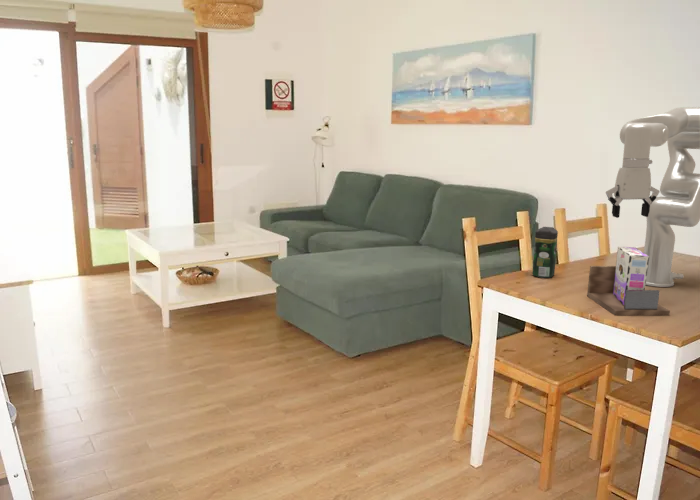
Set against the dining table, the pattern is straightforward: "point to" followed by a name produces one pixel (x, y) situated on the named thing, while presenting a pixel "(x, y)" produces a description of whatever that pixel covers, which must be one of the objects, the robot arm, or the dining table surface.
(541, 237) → the coffee jar
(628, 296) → the grey flat slab
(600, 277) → the wooden shelf
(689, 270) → the dining table surface
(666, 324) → the dining table surface
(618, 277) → the candy box
